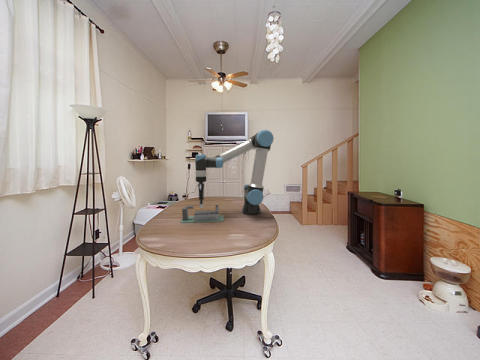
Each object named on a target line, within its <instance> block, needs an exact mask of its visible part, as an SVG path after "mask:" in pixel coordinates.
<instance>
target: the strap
mask: <svg viewBox="0 0 480 360" xmlns="http://www.w3.org/2000/svg"><path fill="white" fill-rule="evenodd" d="M194 210H195V211H197V210H213V211H216V209H215V207H211V208H210V207H204V208H203V209H200V207H194Z"/></svg>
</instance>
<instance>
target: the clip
mask: <svg viewBox="0 0 480 360" xmlns="http://www.w3.org/2000/svg"><path fill="white" fill-rule="evenodd" d="M194 208H195V205H187V206H184V207H182V208H181V213H182V214H181V215H182V219H183V220H187V219H188V217H189V210H192V209H194Z"/></svg>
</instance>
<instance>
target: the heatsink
mask: <svg viewBox="0 0 480 360" xmlns="http://www.w3.org/2000/svg"><path fill="white" fill-rule="evenodd" d="M214 208H215V209H216V211H213V210H195V211H194V215H193V216H194V221H214V220H219V215H220V212H219V205H218V204H216V205H215V207H214Z"/></svg>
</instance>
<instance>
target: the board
mask: <svg viewBox="0 0 480 360" xmlns="http://www.w3.org/2000/svg"><path fill="white" fill-rule="evenodd" d="M180 220H181V221H179V223H180V224H186V223H187V224H188V223H189V224H190V223H214V222H215V223H216V222H218V223H219V222H224V215H223V214H221V215H220V214H219V220H214V221H194V215H191V216H190V215H188V219H187V220H183V218H182V219H180Z"/></svg>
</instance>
